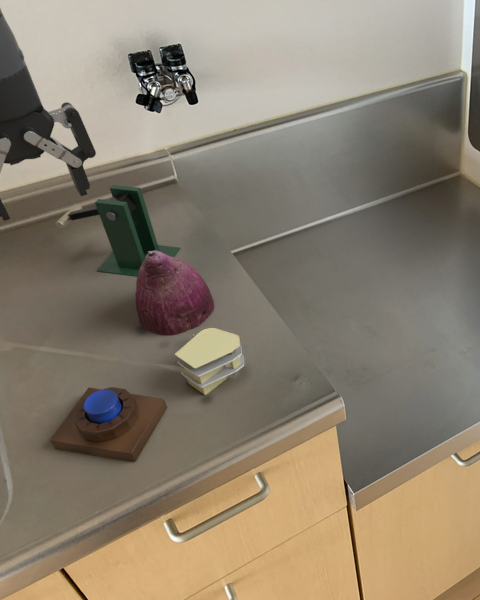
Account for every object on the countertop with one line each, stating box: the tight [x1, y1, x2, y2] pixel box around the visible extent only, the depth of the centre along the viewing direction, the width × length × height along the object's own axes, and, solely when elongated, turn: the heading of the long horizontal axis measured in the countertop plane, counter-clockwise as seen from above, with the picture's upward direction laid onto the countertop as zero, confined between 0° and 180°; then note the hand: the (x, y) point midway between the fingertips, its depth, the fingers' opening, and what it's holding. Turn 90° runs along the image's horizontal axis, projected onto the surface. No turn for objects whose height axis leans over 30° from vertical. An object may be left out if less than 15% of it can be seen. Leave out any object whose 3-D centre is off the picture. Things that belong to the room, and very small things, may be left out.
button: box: [84, 390, 121, 423], centre depth 70 cm, size 4×4×2 cm
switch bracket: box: [94, 184, 182, 278], centre depth 93 cm, size 10×8×13 cm
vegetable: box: [134, 250, 215, 336], centre depth 83 cm, size 10×10×15 cm
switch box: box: [50, 386, 168, 463], centre depth 72 cm, size 10×8×4 cm
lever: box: [55, 193, 137, 230], centre depth 91 cm, size 12×5×2 cm, turn 80°
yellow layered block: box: [174, 327, 245, 396], centre depth 78 cm, size 10×9×6 cm
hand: (44, 204), depth 72 cm, fingers open, 8 cm apart
